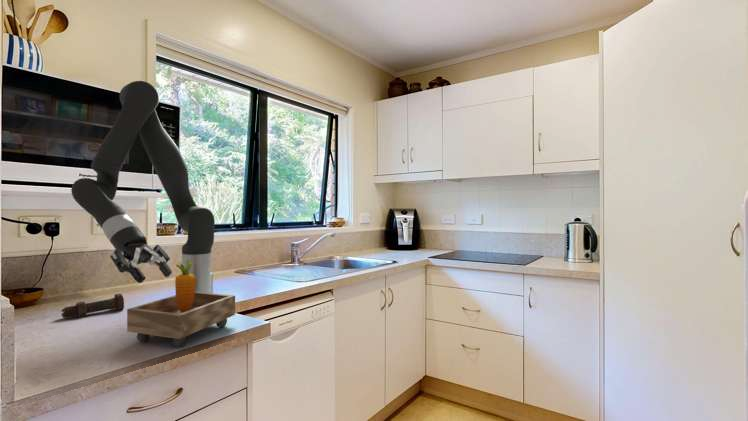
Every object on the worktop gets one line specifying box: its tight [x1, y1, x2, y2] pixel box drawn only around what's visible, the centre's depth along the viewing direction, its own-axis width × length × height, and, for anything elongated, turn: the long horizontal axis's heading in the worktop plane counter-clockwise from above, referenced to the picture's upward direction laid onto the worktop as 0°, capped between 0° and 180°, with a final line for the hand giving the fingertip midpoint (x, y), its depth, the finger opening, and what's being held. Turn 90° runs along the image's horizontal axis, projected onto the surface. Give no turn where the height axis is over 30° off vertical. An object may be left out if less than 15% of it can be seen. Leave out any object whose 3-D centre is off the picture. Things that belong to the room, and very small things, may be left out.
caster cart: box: [126, 292, 236, 348], centre depth 98 cm, size 20×16×8 cm
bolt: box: [60, 293, 125, 319], centre depth 114 cm, size 6×5×15 cm
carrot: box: [174, 260, 196, 313], centre depth 98 cm, size 5×5×15 cm
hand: (156, 277), depth 100 cm, fingers open, 8 cm apart
